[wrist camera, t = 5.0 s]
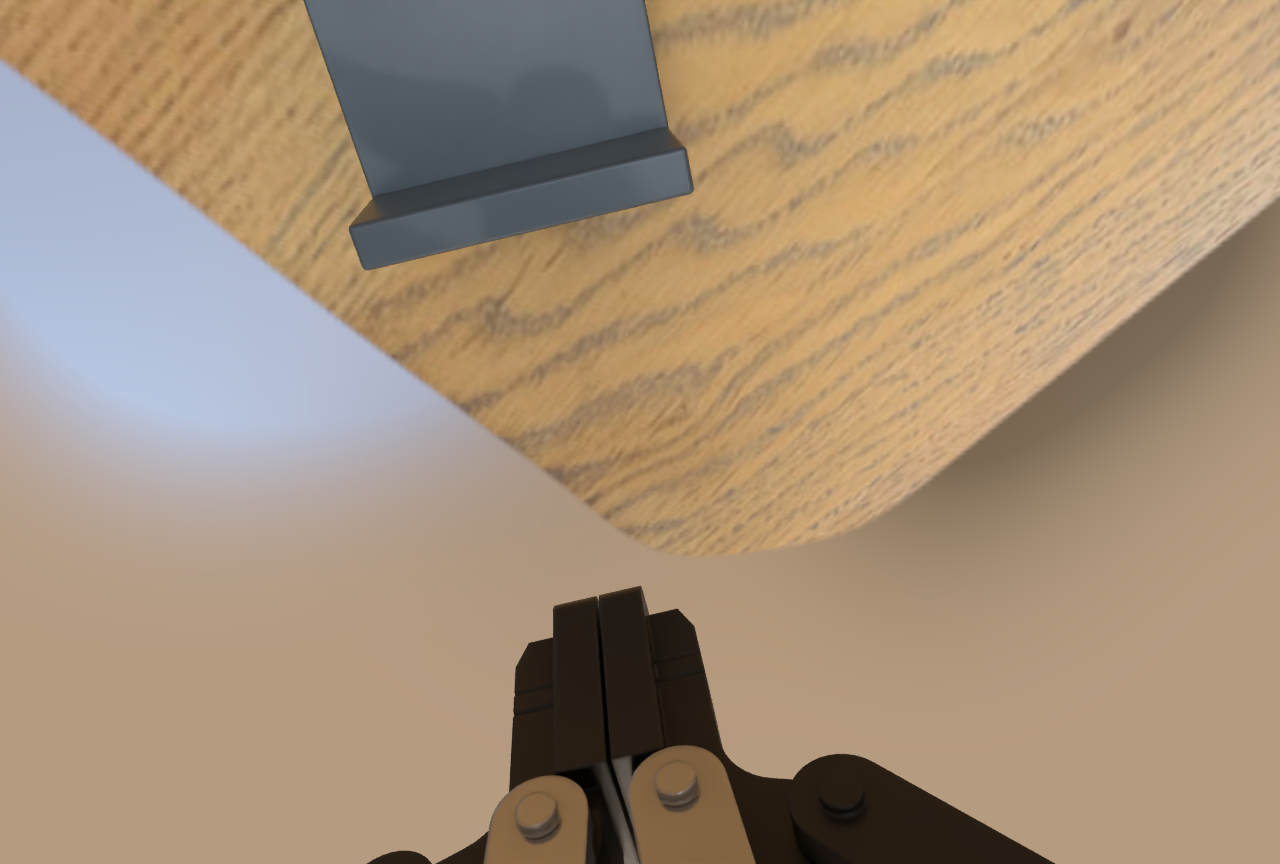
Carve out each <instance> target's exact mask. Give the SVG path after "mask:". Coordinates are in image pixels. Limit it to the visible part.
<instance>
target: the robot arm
mask: <svg viewBox="0 0 1280 864" xmlns="http://www.w3.org/2000/svg"><path fill="white" fill-rule="evenodd" d="M514 692H515V697H514V710H513V711H514V717H513V729H512V749H511V767H510V786H509V793H508V794H507V795H506V796H505V797H504V798H503V799H502V800H501V801H500V803H499V804H498V806H497V807H496V809H495V811H494V813H493V815H492V818H491V821H490V826H489V831H488V832H486V833H485V835H483V836H482V837H481V838H480V839H478V840H477V841H476V842H474V843H473V844H471V845H470V846H468V847H466V848H464V849H463V850H461V851H459V852H457V853H455V854H453V855H451V856H449V857H448V858H446V859H444V860H442V861H440V862H438V863H436V864H1055V863H1053V862H1051V861H1049V860H1048V859H1046V858H1044V857H1042V856H1041V855H1039V854H1037V853H1035V852H1033V851H1032V850H1030V849H1028V848H1026V847H1024V846H1022V845H1021V844H1019V843H1017V842H1015V841H1014V840H1011V839H1010V838H1008V837H1006V836H1005V835H1003V834H1001V833H999V832H997V831H996V830H994V829H992V828H990V827H988V826H987V825H985V824H983V823H981V822H979V821H978V820H976V819H974V818H972V817H971V816H969V815H967V814H965V813H963V812H961V811H960V810H958V809H956V808H955V807H953V806H951V805H949V804H947V803H946V802H944V801H942V800H940V799H938V798H937V797H935V796H933V795H931V794H929V793H928V792H926V791H924V790H922V789H921V788H919V787H917V786H915V785H913V784H911V783H909V782H908V781H906V780H904V779H903V778H901V777H899V776H897V775H895V774H894V773H892V772H890V771H888V770H886V769H885V768H883V767H881V766H879V765H878V764H876V763H874V762H872V761H870V760H868V759H866V758H862V757H859V756H855V755H849V754H834V755H827V756H824V757H820V758H818V759H816V760H813V761H811V762H810V763H808V764H807V765H805V766H804V767H803V768H802V769H801V770H800V771H799V772H798V773H797V774H796V776H795V777H794V779H793V780H791V779H777V778H776V779H775V778H767V777H761V776H757V775H754V774H751V773H749V772H746V771H744V770H743V769H741V768H739V767H738V766H736V765H735V764H734V763H733V762H732V761H731V760H730V759H729V758H728V757H727V755H726V754H725V752H724V750H723V748H722V743H721V739H720V735H719V730H718V725H717V721H716V717H715V712H714V708H713V703H712V699H711V695H710V690H709V686H708V682H707V678H706V673H705V669H704V665H703V661H702V657H701V652H700V648H699V644H698V640H697V636H696V631H695V628H694V625H693V624H692V623H691V622H690V621H689V620H688V619H687V618H686V617H685V616H684V615H683V614H682V613H681V612H680V611H679V610H678V609H674V610H670V611H665V612H661V613H656V614H652V615H649V612H648V608H647V605H646V601H645V598H644V594H643V590H642V587H641V586H637V587H633V588H629V589H624V590H620V591H616V592H611V593H607V594H603V595H599V601H598V599H597V597H596V596H595V597H591V598H586V599H582V600H577V601H573V602H569V603H564V604H560V605H556V606H554V608H553V638H549V639H544V640H540V641H536V642H531V643H529V644H528V646H527V648H526V650H525V651H524V653H523V655H522V657H521V659H520V661H519V663H518V665H517V666H516V672H515V691H514ZM367 864H432V863H431V862H430V861H429V860H428V859H427V858H426V857H425V856H423V855H422V854H419V853H417V852H412V851H396V852H391V853H388V854H385V855H382V856H380V857H378V858H376V859H374V860H372V861H371V862H369V863H367Z"/></svg>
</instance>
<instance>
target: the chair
mask: <svg viewBox="0 0 1280 864" xmlns="http://www.w3.org/2000/svg"><path fill="white" fill-rule="evenodd" d="M303 1H304V3H305V6H306V9H307V12H308V15H309V18H310V20H311V23H312V26H313V29H314V32H315V35H316V38H317V40H318V43H319V46H320V49H321V52H322V55H323V58H324V60H325V63H326V66H327V69H328V72H329V75H330V77H331V80H332V83H333V86H334V89H335V92H336V95H337V97H338V100H339V103H340V106H341V109H342V112H343V115H344V117H345V120H346V123H347V126H348V129H349V132H350V134H351V137H352V140H353V143H354V146H355V149H356V152H357V154H358V157H359V160H360V163H361V166H362V169H363V172H364V174H365V177H366V180H367V183H368V186H369V189H370V191H371V194H372V197H373V199H372V200H371V201H370V202H369V203H368V204H367V206H366V207H365V208H364V209H363V210H362V212H361V213H360V214H359V215H358V216H357V218H356V219H355V220H354V221H353V222H352V224H351V225H350V226H349V232H350V235H351V238H352V240H353V243H354V246H355V249H356V251H357V254H358V257H359V259H360V262H361V265H362V267H363V268H364V270H372V269H377V268H381V267H385V266H389V265H393V264H398V263H402V262H406V261H410V260H415V259H419V258H423V257H427V256H431V255H436V254H440V253H444V252H448V251H452V250H457V249H461V248H465V247H469V246H474V245H478V244H482V243H486V242H490V241H495V240H499V239H503V238H507V237H511V236H516V235H520V234H524V233H528V232H533V231H537V230H541V229H545V228H549V227H554V226H558V225H562V224H566V223H570V222H575V221H579V220H583V219H587V218H592V217H596V216H600V215H604V214H608V213H613V212H617V211H621V210H625V209H629V208H634V207H638V206H642V205H646V204H650V203H655V202H659V201H663V200H667V199H672V198H676V197H680V196H684V195H688V194H691V193H692V192H693V190H694V187H693V181H692V176H691V170H690V165H689V159H688V154H687V149H686V148H685V146H684V145H683V144H682V143H681V142H680V141H679V140H678V139H677V137H676V136H675V135H674V134H673V133H672V132H671V131H670V130H669V127H668V122H667V117H666V111H665V106H664V101H663V95H662V90H661V85H660V79H659V74H658V69H657V64H656V58H655V53H654V48H653V42H652V37H651V32H650V27H649V21H648V16H647V11H646V5H645V0H303Z"/></svg>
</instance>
